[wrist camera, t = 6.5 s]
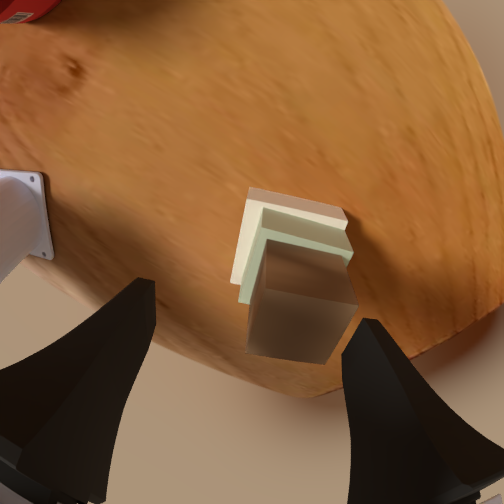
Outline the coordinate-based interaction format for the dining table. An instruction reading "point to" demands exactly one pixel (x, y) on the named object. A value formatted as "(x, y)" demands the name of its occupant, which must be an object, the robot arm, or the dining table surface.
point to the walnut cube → (299, 304)
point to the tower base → (282, 204)
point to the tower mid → (290, 242)
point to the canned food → (24, 10)
